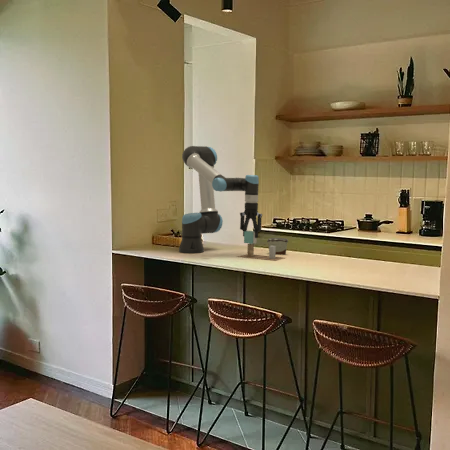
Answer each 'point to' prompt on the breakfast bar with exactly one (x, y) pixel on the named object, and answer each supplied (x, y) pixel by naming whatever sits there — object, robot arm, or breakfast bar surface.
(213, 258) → the breakfast bar surface
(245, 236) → the teal rectangular block
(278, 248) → the food container
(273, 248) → the post
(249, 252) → the post
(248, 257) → the board
